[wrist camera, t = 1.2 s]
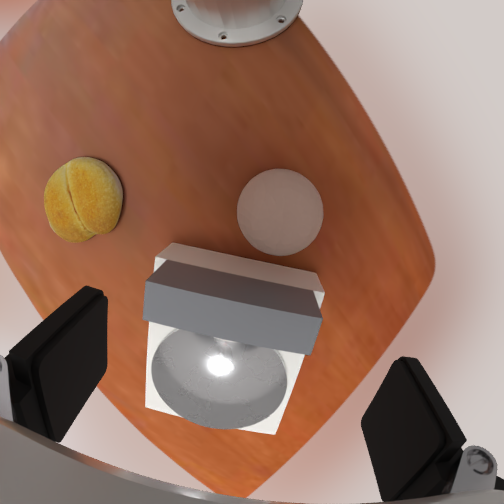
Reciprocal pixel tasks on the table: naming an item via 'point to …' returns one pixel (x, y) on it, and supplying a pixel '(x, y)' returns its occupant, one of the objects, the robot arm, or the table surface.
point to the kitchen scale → (232, 310)
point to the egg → (279, 212)
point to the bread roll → (83, 199)
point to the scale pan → (218, 379)
